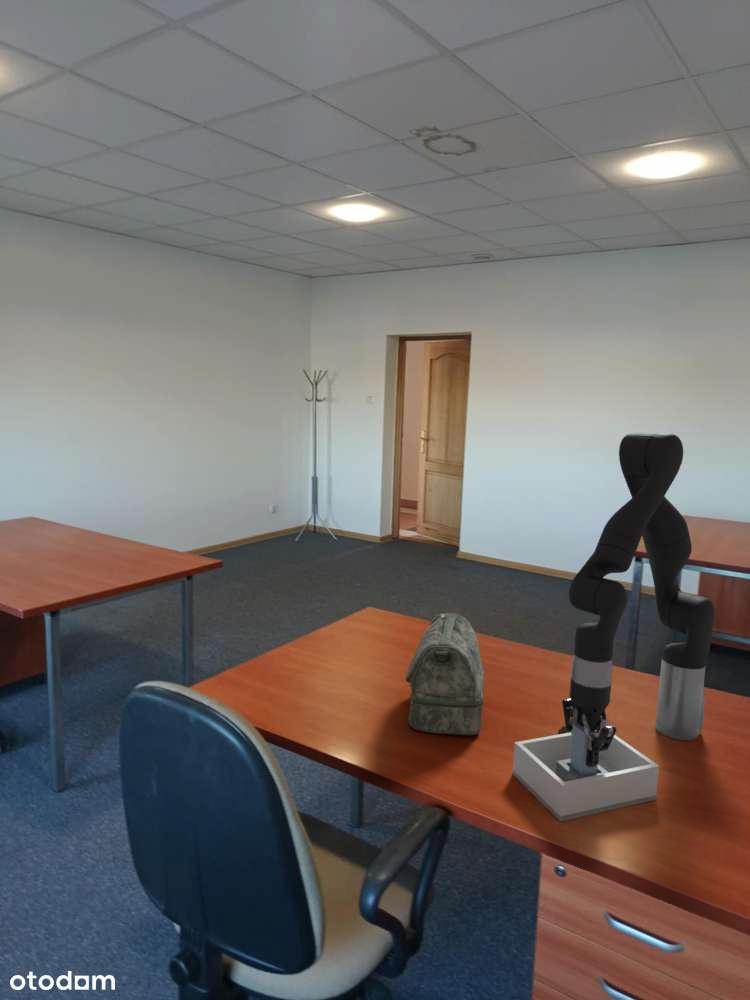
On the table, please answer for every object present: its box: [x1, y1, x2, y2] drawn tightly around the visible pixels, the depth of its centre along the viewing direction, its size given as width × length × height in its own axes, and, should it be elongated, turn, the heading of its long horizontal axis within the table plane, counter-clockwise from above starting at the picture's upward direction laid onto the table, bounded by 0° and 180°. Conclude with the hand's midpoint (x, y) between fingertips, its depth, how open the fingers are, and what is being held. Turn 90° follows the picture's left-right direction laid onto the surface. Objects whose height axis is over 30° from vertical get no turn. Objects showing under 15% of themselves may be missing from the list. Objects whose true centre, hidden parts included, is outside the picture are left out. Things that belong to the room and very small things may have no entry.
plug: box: [570, 724, 598, 777], centre depth 128 cm, size 4×4×10 cm
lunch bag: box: [405, 612, 485, 736], centre depth 158 cm, size 26×18×22 cm
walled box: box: [512, 732, 660, 822], centre depth 128 cm, size 22×16×7 cm
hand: (584, 760), depth 128 cm, fingers closed on plug, 3 cm apart
